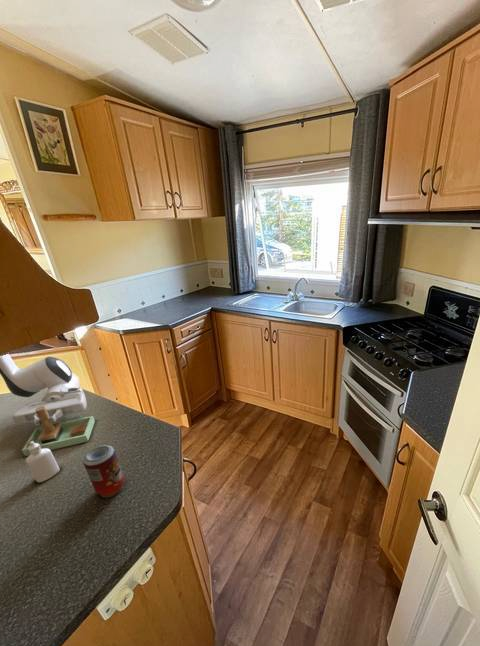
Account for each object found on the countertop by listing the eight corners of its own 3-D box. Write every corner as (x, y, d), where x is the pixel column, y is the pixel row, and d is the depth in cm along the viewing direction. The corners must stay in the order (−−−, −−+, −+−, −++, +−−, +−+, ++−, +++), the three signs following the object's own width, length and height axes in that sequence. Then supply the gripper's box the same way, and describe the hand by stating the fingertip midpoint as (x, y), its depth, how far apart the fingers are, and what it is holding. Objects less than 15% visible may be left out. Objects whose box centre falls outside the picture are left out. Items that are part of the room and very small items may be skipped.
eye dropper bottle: (37, 474, 83) (20, 441, 78) (60, 466, 85) (45, 433, 80) (34, 484, 79) (16, 451, 74) (59, 476, 81) (42, 443, 76)
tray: (24, 456, 90) (21, 450, 89) (38, 433, 100) (35, 428, 99) (88, 441, 95) (85, 435, 94) (95, 421, 105) (92, 415, 104)
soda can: (120, 497, 74) (106, 461, 69) (92, 501, 73) (75, 464, 68) (130, 476, 80) (117, 441, 75) (103, 479, 80) (89, 444, 75)
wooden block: (71, 437, 96) (70, 433, 96) (75, 429, 100) (73, 426, 99) (85, 434, 97) (84, 430, 97) (87, 427, 101) (86, 423, 100)
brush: (41, 446, 92) (27, 416, 88) (49, 432, 99) (36, 404, 94) (57, 442, 94) (44, 413, 89) (64, 429, 100) (51, 401, 95)
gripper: (20, 399, 100) (1, 421, 88) (86, 386, 106) (77, 406, 94) (27, 414, 103) (10, 438, 91) (91, 401, 109) (83, 422, 97)
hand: (44, 421), depth 93 cm, fingers closed on brush, 2 cm apart
